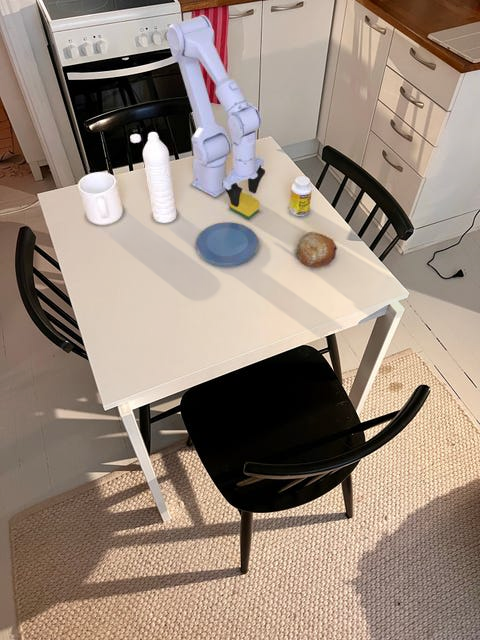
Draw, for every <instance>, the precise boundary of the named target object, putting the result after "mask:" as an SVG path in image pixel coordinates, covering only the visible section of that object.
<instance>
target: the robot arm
mask: <svg viewBox="0 0 480 640" xmlns="http://www.w3.org/2000/svg"><path fill="white" fill-rule="evenodd" d="M166 39H167V42H168V45H169V49H170V52H171V55H172V59H173V61H174V62H176V63H178V66H179V70H180V73H181V76H182V80H183V83H184V86H185V90H186V93H187V97H188V100H189V104H190V107H191V110H192V113H193V116H194V121H195V124H196V127H197V128H196V130H195V132H194V133H193V135H192V137H191V144H192V154H193V156H194V157H193V158H194V159H193V163H192V173H193V183H191V185H192V186H193V187H195V188H197V189H199V190H200V191H202V192H204V193H206V194H208V195H210V196H212V197H213V198H217V197H218V196H220V195H221V194H223V193H224V192H226V193H227V196H228V198H229V202H230V201H231V204H232V205H233V206H235V207H238V206H239V199H240V194H241V191H242V192H243V187H241V186H239V184H238V183H240V182H243V181H247V187H248V192H250V193H252V194H254V195H255V194H257V191H258V188H259V185H260V183H261V181H262V178H263V176H264V175H265V174H266V169H265V168H263V166H264V165H265V158H262V157H260V156H256V145H257V144H256V142H257V141H256V140H257V131H258V130H260V128H261V126H262V117H261V113H260V111H259V110H258V107H256V106H255V105H254V104H252V102H250V101H247V99H246V97H245V95H244V93H243V91H242V90H241V88H240V86H239V84H238V82H237V80H236V79H233V78H231V77H229V75H228V73H227V70H226V68H225V66H224V64H223V61H222V59H221V56H220V54H219V53H218V50H217V48H216V46H215V30H214V29H213V25H212V23H211V21H210V20H209V18H208V17H207V16H206V15H204V14H200V15H198V16H195V17H192V18H189V19H186V20H182V21H179V22H174V23H170V24H169V26H168V30H167V35H166ZM200 64H201V65H202V66H203V68H204V69H205V71H206V72H207V74H208V76H209V77H210V78H211V80H212V82H213V83H214V84H215V91H214V92H215V96H216V97H217V99H218V101H219V103H220V105H221V106H222V109H223V110H224V112H225V114H226V116H227V117H228V119H227V120H226V121H227V127H228V130H229V132H230V137H229V135H228V132H227V130H226V127H225V126H223V125H220V124H218V123H217V122H216V119H215V115H214V111H213V108H212V104H211V100H210V97H209V93H208V90H207V85H206V82H205V78H204V76H203V72H202V68H201V65H200ZM231 153H232V168H231V170H230V172H229V173H228V175H227V160H228V159H229V155H231Z"/></svg>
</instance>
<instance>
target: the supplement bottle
mask: <svg viewBox="0 0 480 640" xmlns="http://www.w3.org/2000/svg"><path fill="white" fill-rule="evenodd" d="M312 191H313V186H312V185H311V179H310V178H309V177H308V176H305V175H300V176H297V177H296V178H295V181H294V183H293V184H291V190H290V200H289V212H290V213H291V214H292V215H294V216H296V217H304V216H306V215H308V213H309V211H310V206H311V199H312V193H313V192H312Z"/></svg>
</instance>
